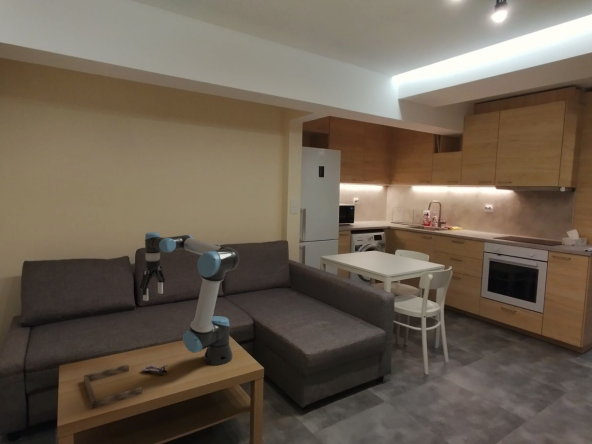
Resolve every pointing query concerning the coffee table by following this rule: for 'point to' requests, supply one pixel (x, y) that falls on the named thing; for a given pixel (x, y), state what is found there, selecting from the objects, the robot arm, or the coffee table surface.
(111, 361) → the coffee table surface
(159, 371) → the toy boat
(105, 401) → the frame
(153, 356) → the coffee table surface
